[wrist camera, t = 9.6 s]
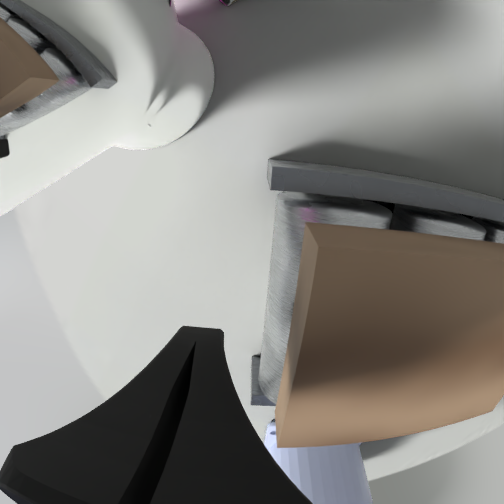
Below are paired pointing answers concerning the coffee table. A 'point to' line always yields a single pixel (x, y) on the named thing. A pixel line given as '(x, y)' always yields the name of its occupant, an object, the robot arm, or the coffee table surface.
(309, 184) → the roller bed
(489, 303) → the slab
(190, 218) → the coffee table surface
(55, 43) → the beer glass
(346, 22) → the coffee table surface
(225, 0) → the candy bar box
